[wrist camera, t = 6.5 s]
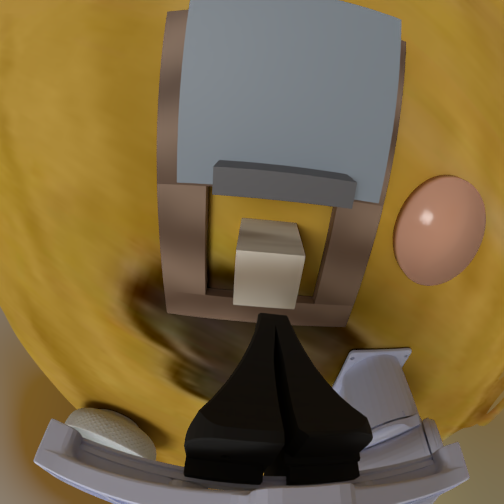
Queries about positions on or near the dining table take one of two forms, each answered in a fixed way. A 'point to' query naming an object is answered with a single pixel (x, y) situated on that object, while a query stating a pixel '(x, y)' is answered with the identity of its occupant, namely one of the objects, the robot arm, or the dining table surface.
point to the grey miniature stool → (288, 99)
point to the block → (268, 264)
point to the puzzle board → (196, 222)
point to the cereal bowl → (112, 431)
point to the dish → (439, 230)
